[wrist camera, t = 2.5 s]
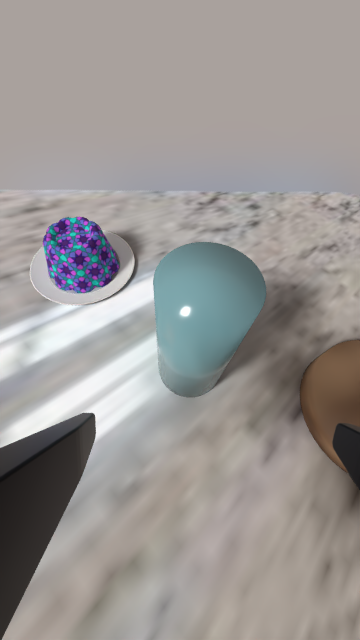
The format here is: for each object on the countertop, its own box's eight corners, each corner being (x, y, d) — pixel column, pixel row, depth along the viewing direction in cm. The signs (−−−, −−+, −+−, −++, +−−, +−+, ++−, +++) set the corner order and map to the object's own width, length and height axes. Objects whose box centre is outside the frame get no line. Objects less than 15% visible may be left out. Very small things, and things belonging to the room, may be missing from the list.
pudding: (29, 243, 32) (7, 206, 28) (123, 226, 35) (116, 189, 30) (36, 321, 27) (10, 291, 22) (146, 293, 29) (143, 261, 25)
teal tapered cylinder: (231, 381, 24) (289, 307, 13) (174, 408, 23) (183, 351, 11) (202, 330, 27) (229, 231, 15) (149, 351, 25) (136, 259, 14)
